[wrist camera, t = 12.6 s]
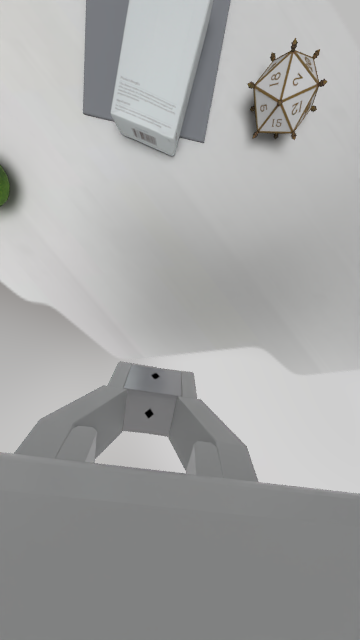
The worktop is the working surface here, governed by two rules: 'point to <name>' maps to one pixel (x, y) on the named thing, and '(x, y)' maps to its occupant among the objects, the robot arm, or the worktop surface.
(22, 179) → the worktop surface
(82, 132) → the worktop surface
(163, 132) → the skincare box
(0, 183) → the fruit
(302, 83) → the game die
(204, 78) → the mat
